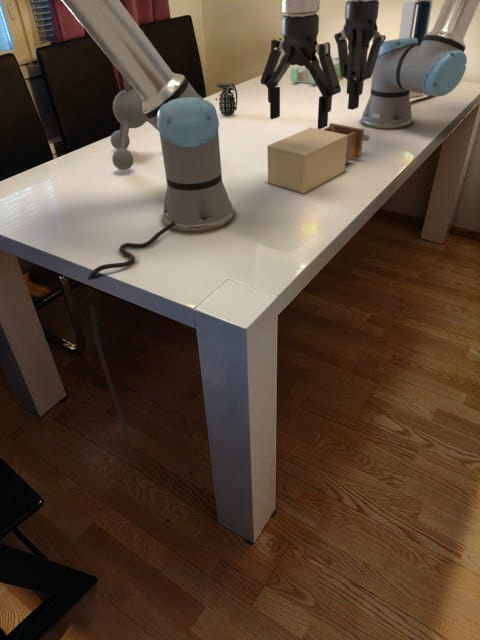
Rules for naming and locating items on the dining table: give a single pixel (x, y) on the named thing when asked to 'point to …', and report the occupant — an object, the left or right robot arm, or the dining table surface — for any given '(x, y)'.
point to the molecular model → (126, 124)
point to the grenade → (227, 99)
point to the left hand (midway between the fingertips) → (297, 122)
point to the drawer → (350, 139)
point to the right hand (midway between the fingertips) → (353, 108)
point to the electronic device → (420, 26)
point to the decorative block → (304, 75)
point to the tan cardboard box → (306, 159)
